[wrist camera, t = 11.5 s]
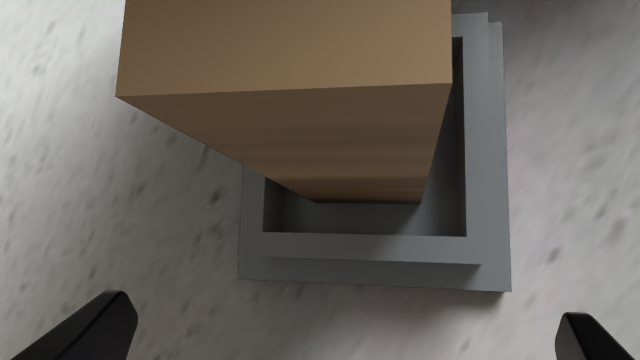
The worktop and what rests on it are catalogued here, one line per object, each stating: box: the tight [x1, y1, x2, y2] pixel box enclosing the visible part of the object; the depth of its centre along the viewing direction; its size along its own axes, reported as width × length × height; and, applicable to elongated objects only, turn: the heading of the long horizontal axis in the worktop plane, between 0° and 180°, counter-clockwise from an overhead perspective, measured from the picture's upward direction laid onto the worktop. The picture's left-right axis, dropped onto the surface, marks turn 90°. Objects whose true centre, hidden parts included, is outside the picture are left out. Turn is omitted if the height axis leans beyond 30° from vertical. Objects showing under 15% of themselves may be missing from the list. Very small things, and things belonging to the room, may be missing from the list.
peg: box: [115, 0, 452, 204], centre depth 11 cm, size 4×4×12 cm
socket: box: [238, 12, 512, 292], centre depth 16 cm, size 10×10×4 cm
